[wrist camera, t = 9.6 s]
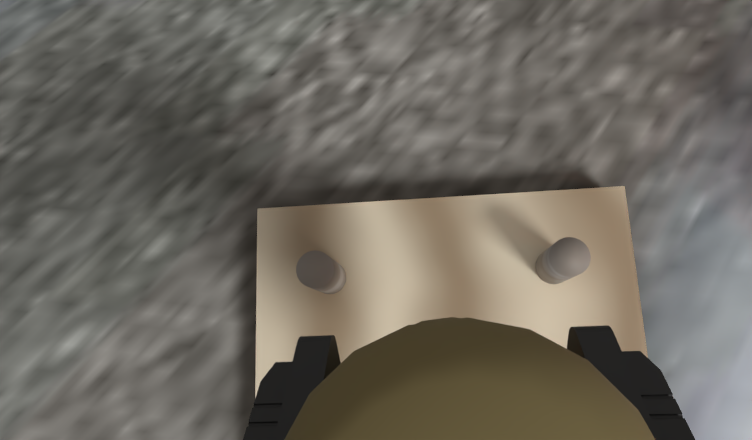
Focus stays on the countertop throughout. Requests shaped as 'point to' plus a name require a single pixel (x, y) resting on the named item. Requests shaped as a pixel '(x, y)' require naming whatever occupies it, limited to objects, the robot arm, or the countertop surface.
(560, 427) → the cork
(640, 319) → the peg board
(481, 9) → the countertop surface
